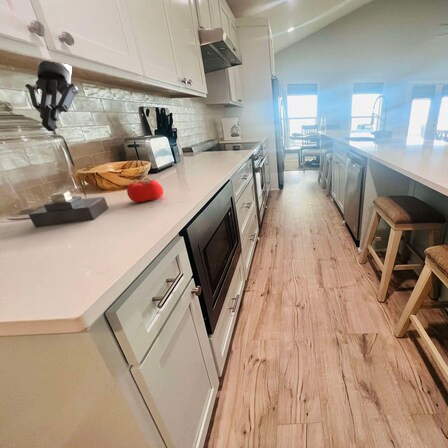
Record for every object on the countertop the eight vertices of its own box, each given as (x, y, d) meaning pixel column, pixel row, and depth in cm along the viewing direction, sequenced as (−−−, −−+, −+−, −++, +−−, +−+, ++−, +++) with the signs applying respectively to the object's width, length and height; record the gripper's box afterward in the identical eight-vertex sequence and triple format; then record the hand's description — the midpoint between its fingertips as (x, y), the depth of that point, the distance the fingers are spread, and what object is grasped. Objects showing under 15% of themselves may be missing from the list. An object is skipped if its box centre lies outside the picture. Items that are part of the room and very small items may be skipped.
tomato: (167, 199, 86) (162, 181, 84) (131, 206, 80) (125, 187, 78) (162, 193, 94) (157, 177, 91) (129, 200, 88) (123, 182, 85)
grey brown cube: (53, 204, 68) (49, 195, 67) (60, 200, 71) (56, 192, 70) (67, 202, 69) (63, 194, 68) (73, 199, 71) (69, 191, 70)
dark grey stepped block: (35, 227, 67) (24, 207, 65) (58, 214, 77) (49, 196, 74) (94, 219, 71) (85, 200, 68) (108, 208, 80) (101, 190, 78)
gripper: (85, 82, 84) (82, 135, 76) (40, 82, 80) (31, 138, 73) (71, 60, 77) (65, 116, 69) (20, 60, 74) (8, 119, 66)
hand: (48, 127), depth 71 cm, fingers closed
